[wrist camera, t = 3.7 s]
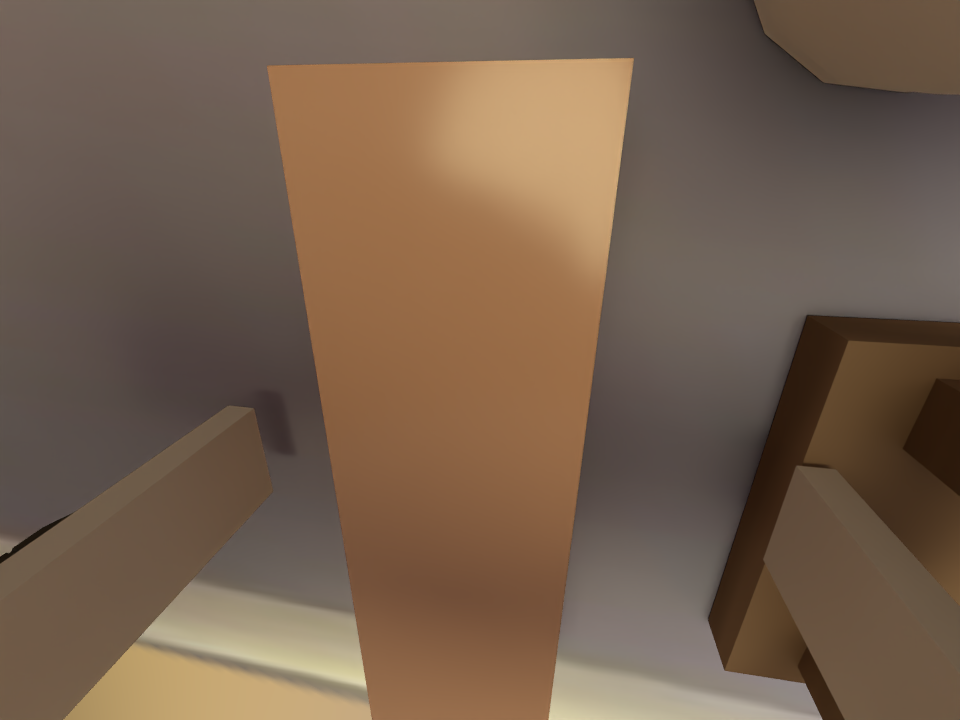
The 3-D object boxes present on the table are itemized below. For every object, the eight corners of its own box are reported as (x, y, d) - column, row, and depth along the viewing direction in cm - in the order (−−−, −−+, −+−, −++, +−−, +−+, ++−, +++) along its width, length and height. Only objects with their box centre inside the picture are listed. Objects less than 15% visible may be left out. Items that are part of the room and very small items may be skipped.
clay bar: (541, 628, 16) (535, 819, 11) (431, 611, 16) (382, 785, 12) (595, 109, 9) (633, 58, 4) (404, 110, 9) (266, 65, 5)
